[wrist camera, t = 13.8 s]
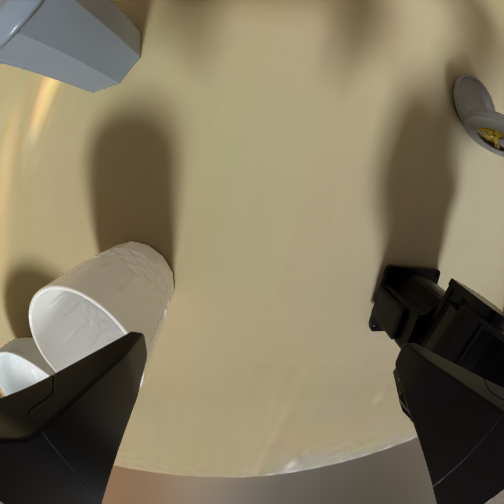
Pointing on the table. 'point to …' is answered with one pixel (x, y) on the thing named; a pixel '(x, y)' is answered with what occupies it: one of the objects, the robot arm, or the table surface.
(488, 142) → the pocket watch
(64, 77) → the grey faceted canister
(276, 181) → the table surface
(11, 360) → the cereal bowl
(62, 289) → the white cup
